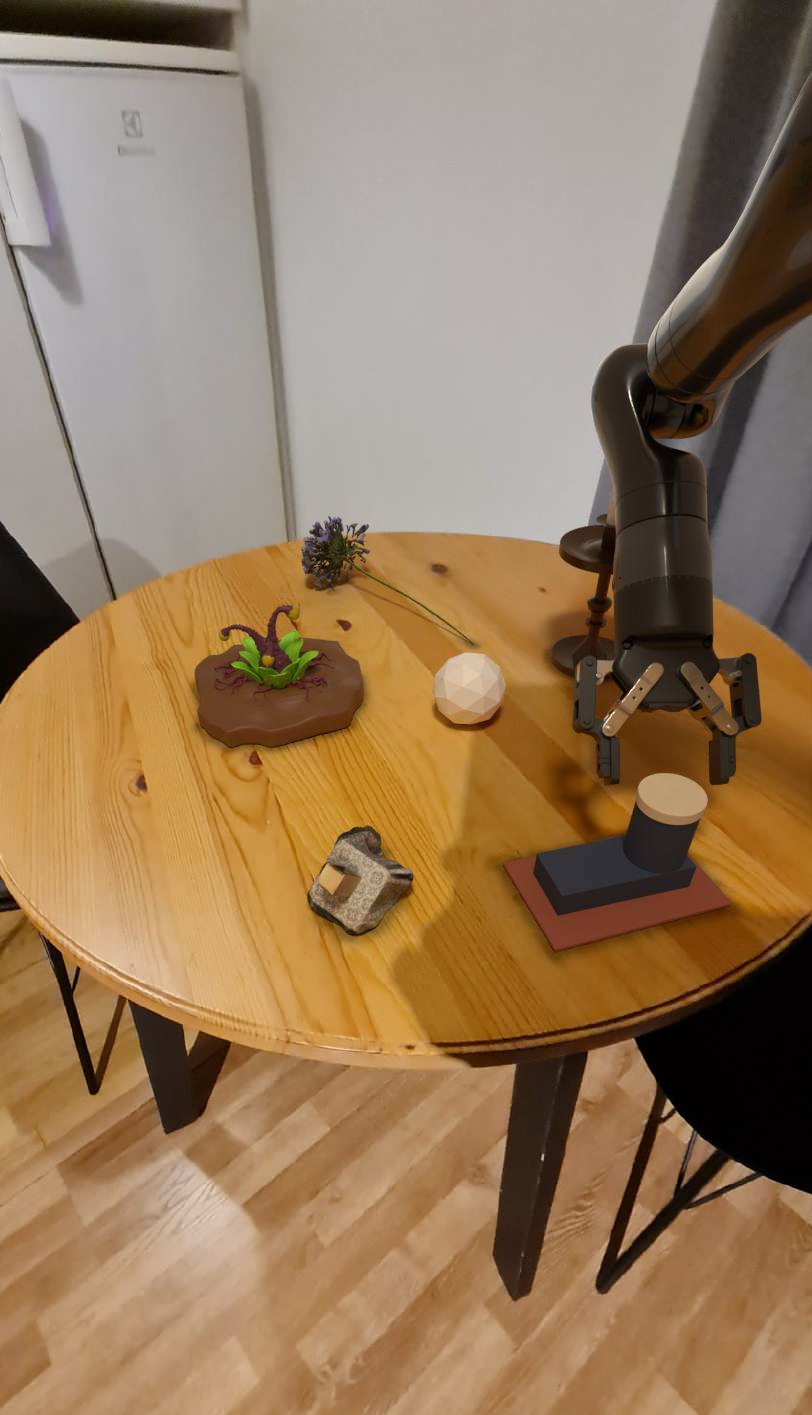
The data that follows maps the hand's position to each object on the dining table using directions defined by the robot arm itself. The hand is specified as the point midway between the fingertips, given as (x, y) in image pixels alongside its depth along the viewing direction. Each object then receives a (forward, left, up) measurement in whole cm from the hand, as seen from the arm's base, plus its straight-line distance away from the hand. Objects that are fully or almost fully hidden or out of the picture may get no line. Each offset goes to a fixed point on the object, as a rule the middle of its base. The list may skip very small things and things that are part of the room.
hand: (665, 784), depth 61 cm
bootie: (+3, +3, -8) cm, 9 cm away
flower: (+32, -45, -9) cm, 56 cm away
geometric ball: (+18, -19, -9) cm, 28 cm away
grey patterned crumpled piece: (+24, +8, -9) cm, 26 cm away
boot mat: (+3, +4, -9) cm, 10 cm away
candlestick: (+4, -34, -9) cm, 35 cm away
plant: (+40, -20, -9) cm, 45 cm away
